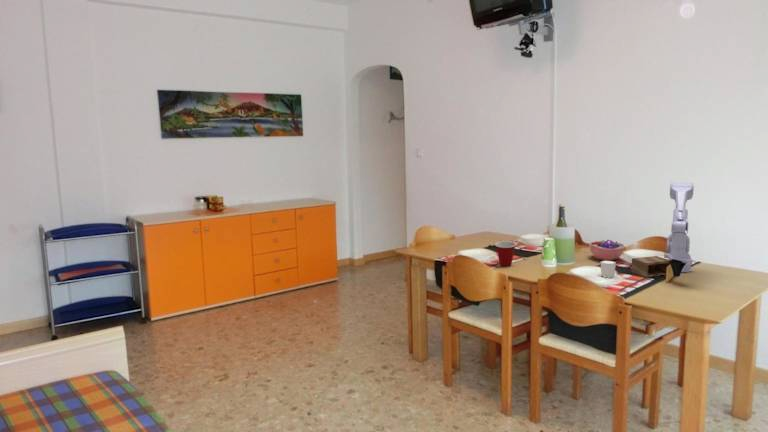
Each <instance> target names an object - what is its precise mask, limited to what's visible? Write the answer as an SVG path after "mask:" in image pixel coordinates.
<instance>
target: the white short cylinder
mask: <svg viewBox="0 0 768 432" xmlns="http://www.w3.org/2000/svg"><path fill="white" fill-rule="evenodd" d="M616 266H617V261H614V260H611V261H605V260H602V261H600V272H601V273H600V274H601V275H602V276H605V277H613V278H615V273H616V272H615V271H616ZM602 276H601V277H602ZM605 277H604V278H605Z"/></svg>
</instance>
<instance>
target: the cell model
mask: <svg viewBox="0 0 768 432" xmlns="http://www.w3.org/2000/svg"><path fill="white" fill-rule="evenodd" d="M588 248H589V249H588V250H589V251H590V253H591V254H592V256H594V257H595V258H596V259H597V260H602V261H614V260H617V259H618V258H620V257H621V256H622V255H623V254H624V250H625V248H626V247H625V245H624V244H623V243H621V242H618V241H613V240H611V239H607V240H597V241H594V242H589V247H588Z"/></svg>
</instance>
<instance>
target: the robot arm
mask: <svg viewBox="0 0 768 432" xmlns="http://www.w3.org/2000/svg"><path fill="white" fill-rule="evenodd" d="M669 185H670V186H669V197H670V199H671V200H674V202H675V208H674V209H673V213H672V215H673V216H672V222H671V226H670V227H671V228H670V232H671V234H669V235H668V236H667V240H666V251H667V252H665V253H663V258H664V259H668V260H671V261H669V263H670V265H671V267H672V271H673V275H674V276H673V277H675V278H678V277H680V276H681V273H689V272H692V270H691V267H692V265H693V259H692V257H691V255H690V244H691V243H690V242H691V241H690V237H689V236H688V235H687V234H688V232H689V220H688V216H689V215H688V209H687V208H686V206H687V205H686V204H687V202H688V201H689V200H692V198H693V197H694V187H695V185H694V183H693V182H687V183H686V182H685V183H684V182H671V183H670V184H669Z"/></svg>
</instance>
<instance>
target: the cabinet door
mask: <svg viewBox="0 0 768 432" xmlns="http://www.w3.org/2000/svg"><path fill="white" fill-rule="evenodd" d="M673 277H675V276H674V275H673V271H672V267H671V265H669V266H668V267H667V272H666V275H665V282H667V283H668V282H669V281H670V280H672V278H673Z"/></svg>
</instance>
